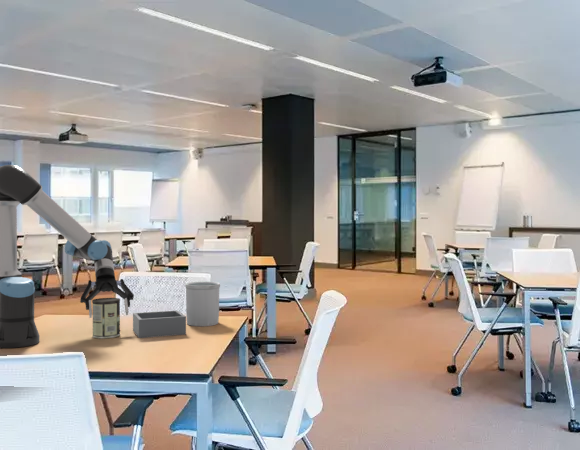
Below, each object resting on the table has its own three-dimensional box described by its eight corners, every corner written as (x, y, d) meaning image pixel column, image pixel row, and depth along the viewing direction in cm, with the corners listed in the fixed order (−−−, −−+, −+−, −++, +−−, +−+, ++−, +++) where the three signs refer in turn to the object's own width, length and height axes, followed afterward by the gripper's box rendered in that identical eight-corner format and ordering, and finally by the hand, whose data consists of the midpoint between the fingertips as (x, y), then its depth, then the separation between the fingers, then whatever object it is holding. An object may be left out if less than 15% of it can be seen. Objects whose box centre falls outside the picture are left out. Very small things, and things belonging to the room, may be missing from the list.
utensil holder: (217, 326, 232) (217, 285, 232) (181, 326, 233) (182, 285, 232) (222, 320, 247) (222, 281, 247) (189, 320, 247) (189, 281, 247)
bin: (138, 338, 209) (139, 319, 209) (132, 330, 224) (132, 313, 224) (185, 334, 217) (186, 316, 217) (177, 327, 231) (177, 310, 231)
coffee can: (105, 332, 220) (105, 296, 220) (125, 334, 216) (125, 298, 216) (86, 337, 211) (86, 300, 211) (106, 339, 206) (106, 302, 206)
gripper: (134, 276, 236) (140, 317, 223) (72, 279, 226) (74, 322, 212) (136, 265, 231) (143, 306, 218) (72, 267, 221) (75, 311, 207)
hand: (109, 314), depth 215 cm, fingers open, 13 cm apart
